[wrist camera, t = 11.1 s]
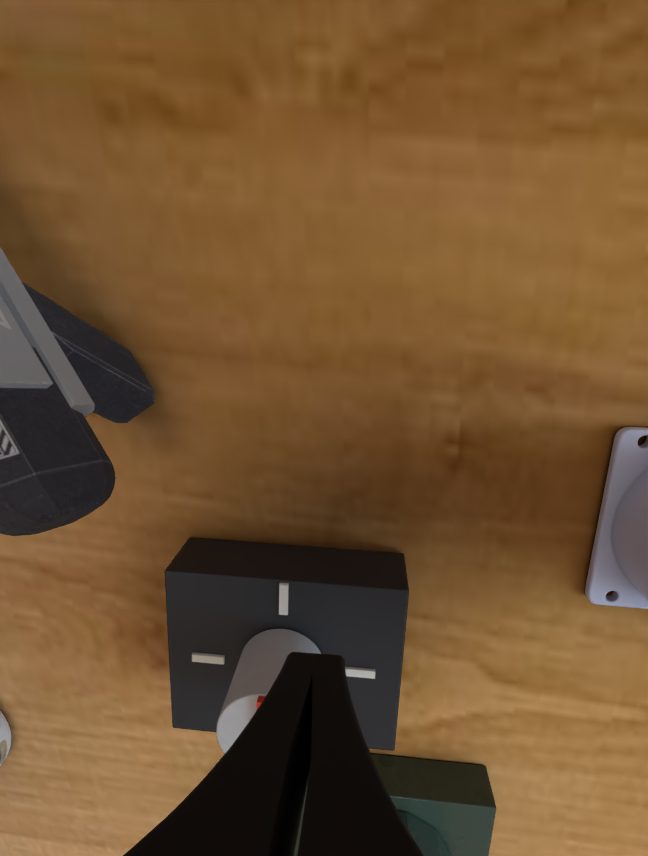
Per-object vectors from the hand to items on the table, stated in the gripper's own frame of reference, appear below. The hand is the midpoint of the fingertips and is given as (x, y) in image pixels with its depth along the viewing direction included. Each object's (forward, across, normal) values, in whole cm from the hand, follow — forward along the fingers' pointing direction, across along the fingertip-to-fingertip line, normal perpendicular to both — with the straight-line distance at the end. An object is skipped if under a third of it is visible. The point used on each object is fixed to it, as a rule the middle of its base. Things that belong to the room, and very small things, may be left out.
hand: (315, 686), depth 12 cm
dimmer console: (+10, +2, +6) cm, 12 cm away
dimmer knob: (+7, +2, +6) cm, 10 cm away
